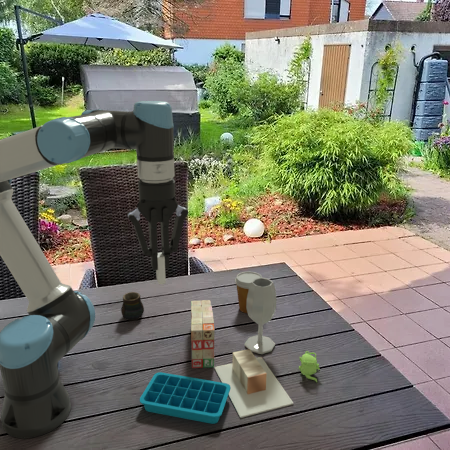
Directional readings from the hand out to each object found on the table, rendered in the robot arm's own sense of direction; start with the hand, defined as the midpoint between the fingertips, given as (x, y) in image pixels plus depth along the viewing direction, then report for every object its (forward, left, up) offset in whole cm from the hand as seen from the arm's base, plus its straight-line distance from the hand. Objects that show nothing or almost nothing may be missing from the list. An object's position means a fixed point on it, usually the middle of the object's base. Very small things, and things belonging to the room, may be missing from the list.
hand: (161, 281), depth 100 cm
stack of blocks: (+15, +19, -33) cm, 41 cm away
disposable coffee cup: (+36, +34, -33) cm, 59 cm away
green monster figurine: (+38, -3, -33) cm, 50 cm away
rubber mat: (+22, -2, -32) cm, 39 cm away
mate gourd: (-2, +41, -33) cm, 52 cm away
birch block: (+22, -6, -30) cm, 37 cm away
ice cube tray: (+4, -3, -33) cm, 33 cm away
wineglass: (+31, +13, -33) cm, 47 cm away
